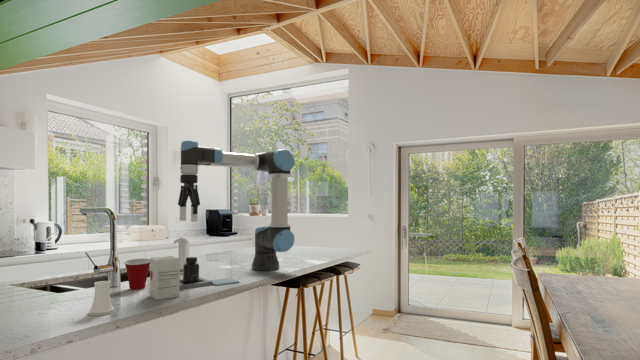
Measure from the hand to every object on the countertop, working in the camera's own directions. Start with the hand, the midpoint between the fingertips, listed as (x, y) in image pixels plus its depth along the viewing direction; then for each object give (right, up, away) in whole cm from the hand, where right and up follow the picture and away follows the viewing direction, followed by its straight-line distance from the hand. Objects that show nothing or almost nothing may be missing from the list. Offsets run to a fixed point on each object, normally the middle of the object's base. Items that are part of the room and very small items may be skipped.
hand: (188, 221), depth 187 cm
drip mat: (+15, -28, 0) cm, 32 cm away
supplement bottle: (+2, -28, -4) cm, 28 cm away
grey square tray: (+2, -28, -4) cm, 28 cm away
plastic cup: (-18, -28, -13) cm, 35 cm away
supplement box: (-1, -27, -27) cm, 38 cm away
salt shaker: (-12, -25, -51) cm, 58 cm away
